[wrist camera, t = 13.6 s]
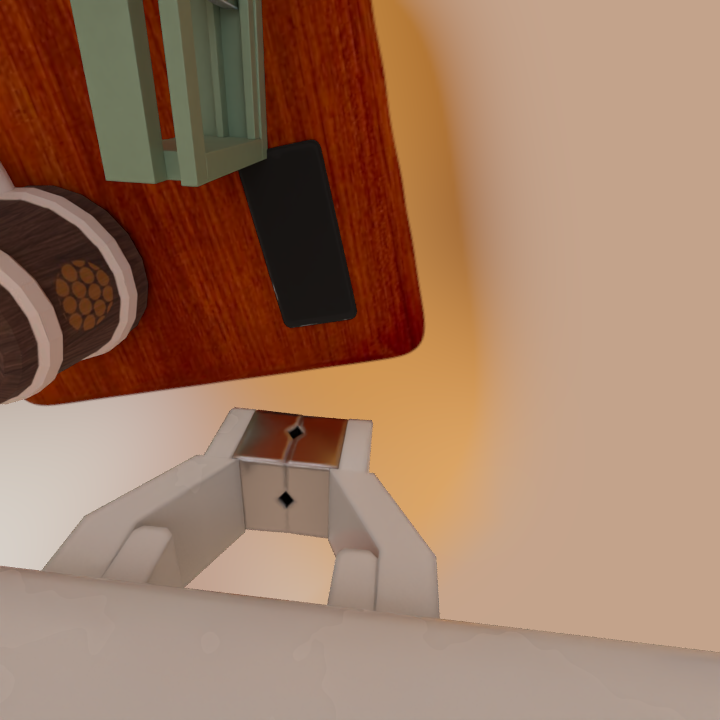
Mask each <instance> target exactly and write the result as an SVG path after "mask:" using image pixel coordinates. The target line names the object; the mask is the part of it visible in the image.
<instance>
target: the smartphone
mask: <svg viewBox="0 0 720 720" xmlns="http://www.w3.org/2000/svg"><path fill="white" fill-rule="evenodd" d="M238 172H239V175H240V178H241V182H242V185H243V188H244V192H245V195H246V198H247V202H248V205H249V208H250V212H251V215H252V218H253V222H254V225H255V228H256V232H257V235H258V238H259V242H260V245H261V248H262V251H263V255H264V258H265V261H266V265H267V268H268V271H269V275H270V278H271V281H272V285H273V288H274V291H275V295H276V298H277V301H278V305H279V308H280V311H281V314H282V318H283V321H284V323H285V325H286V326H288V327H290V328H293V327H301V326H308V325H315V324H322V323H329V322H335V321H342V320H349V319H353V318H354V317H355V316H356V314H357V309H356V304H355V300H354V295H353V291H352V286H351V281H350V277H349V272H348V268H347V263H346V259H345V254H344V250H343V245H342V241H341V236H340V232H339V227H338V223H337V218H336V214H335V209H334V204H333V200H332V195H331V191H330V186H329V182H328V177H327V173H326V168H325V164H324V159H323V155H322V151H321V147H320V144H319V143H318V142H317V141H315V140H306V141H302V142H297V143H293V144H288V145H284V146H279V147H275V148H270V149H267V159H264V160H262V161H259V162H257V163H254V164H252V165H249V166H247V167H244V168H242V169H240V170H238ZM342 250H343V251H342Z"/></svg>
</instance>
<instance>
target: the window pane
mask: <svg viewBox="0 0 720 720" xmlns="http://www.w3.org/2000/svg"><path fill="white" fill-rule="evenodd" d="M207 1H209V2H211V3H213V4H215V5H217V6H219V7H221V8H223V9H235V10H238V0H207Z"/></svg>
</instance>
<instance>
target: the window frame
mask: <svg viewBox="0 0 720 720" xmlns="http://www.w3.org/2000/svg"><path fill="white" fill-rule="evenodd" d="M70 2H71V7H72V12H73V18H74V23H75V28H76V33H77V38H78V43H79V48H80V53H81V58H82V63H83V68H84V73H85V78H86V83H87V88H88V93H89V98H90V103H91V108H92V113H93V118H94V123H95V128H96V133H97V138H98V143H99V148H100V153H101V158H102V163H103V168H104V173H105V178H106V180H107V181H120V182H135V183H149V184H156V183H159V182H162V181H165V180H180V181H181V185H182V186H192V187H198V186H201V185H203V184H206V183H208V182H210V181H213V180H215V179H217V178H220V177H222V176H225V175H227V174H230V173H232V172H235V171H237V170H240V169H242V168H244V167H247V166H249V165H252V164H254V163H257V162H259V161H262V160H264V159H267V149H268V147H267V123H266V99H265V75H264V51H263V26H262V2H261V0H238V10H235V9H223V8H221V7H219V6H217V5H215V4H213V3H211V2H209V1H207V0H158V4H159V12H160V20H161V28H162V36H163V44H164V52H165V60H166V67H167V75H168V83H169V91H170V99H171V107H172V115H173V123H174V130H175V138H172V139H165V140H162V137H161V130H160V122H159V115H158V108H157V101H156V94H155V87H154V80H153V72H152V65H151V58H150V51H149V44H148V37H147V29H146V22H145V15H144V8H143V1H142V0H70Z"/></svg>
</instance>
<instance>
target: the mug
mask: <svg viewBox="0 0 720 720" xmlns="http://www.w3.org/2000/svg"><path fill="white" fill-rule="evenodd" d="M147 295H148V281H147V277H146V273H145V268H144V264H143V260H142V258H141V256H140V254H139V253H138V251H137V249H136V247H135V245H134V244H133V242H132V240H131V238H130V236H129V235H128V233H127V232H126V231H125V230H124V229H123V228H122V227H121V226H120V225H119V224H118V223H117V222H116V220H115V219H114V218H113V217H112V216H111V215H110V214H109V213H108V212H107V211H106V210H104V209H103V208H101V207H99V206H98V205H96V204H95V203H93V202H92V201H90V200H89V199H87V198H86V197H84V196H83V195H81V194H78V193H75V192H72V191H69V190H66V189H62V188H59V187H56V186H25V187H23V188H15V186H14V185H13V183H12V181H11V179H10V177H9V176H8V174H7V172H6V170H5V168H4V167H3V165H2V164H1V162H0V404H9V403H12V402H15V401H19V400H22V399H26V398H28V397H30V396H32V395H34V394H36V393H38V392H40V391H41V390H42V389H43V388H45V387H46V386H47V385H48V384H49V383H51V382H52V381H53V380H54V379H55V377H56V375H57V374H58V373H60V372H62V371H63V370H65V369H67V368H69V367H70V366H72V365H74V364H76V363H77V362H79V361H81V360H84V359H88V358H91V357H94V356H98V355H101V354H104V353H106V352H108V351H110V350H112V349H113V348H114V347H115V346H116V345H118V344H119V343H120V342H121V341H123V340H124V339H125V338H126V337H127V335H128V333H129V332H130V331H131V330H132V329H133V328H135V327H136V326H137V325H138V323H139V321H140V319H141V317H142V315H143V313H144V311H145V309H146V307H147Z"/></svg>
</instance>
